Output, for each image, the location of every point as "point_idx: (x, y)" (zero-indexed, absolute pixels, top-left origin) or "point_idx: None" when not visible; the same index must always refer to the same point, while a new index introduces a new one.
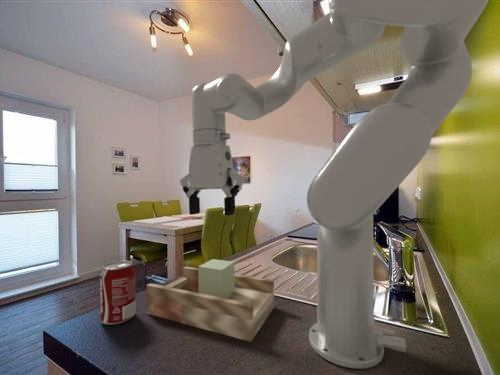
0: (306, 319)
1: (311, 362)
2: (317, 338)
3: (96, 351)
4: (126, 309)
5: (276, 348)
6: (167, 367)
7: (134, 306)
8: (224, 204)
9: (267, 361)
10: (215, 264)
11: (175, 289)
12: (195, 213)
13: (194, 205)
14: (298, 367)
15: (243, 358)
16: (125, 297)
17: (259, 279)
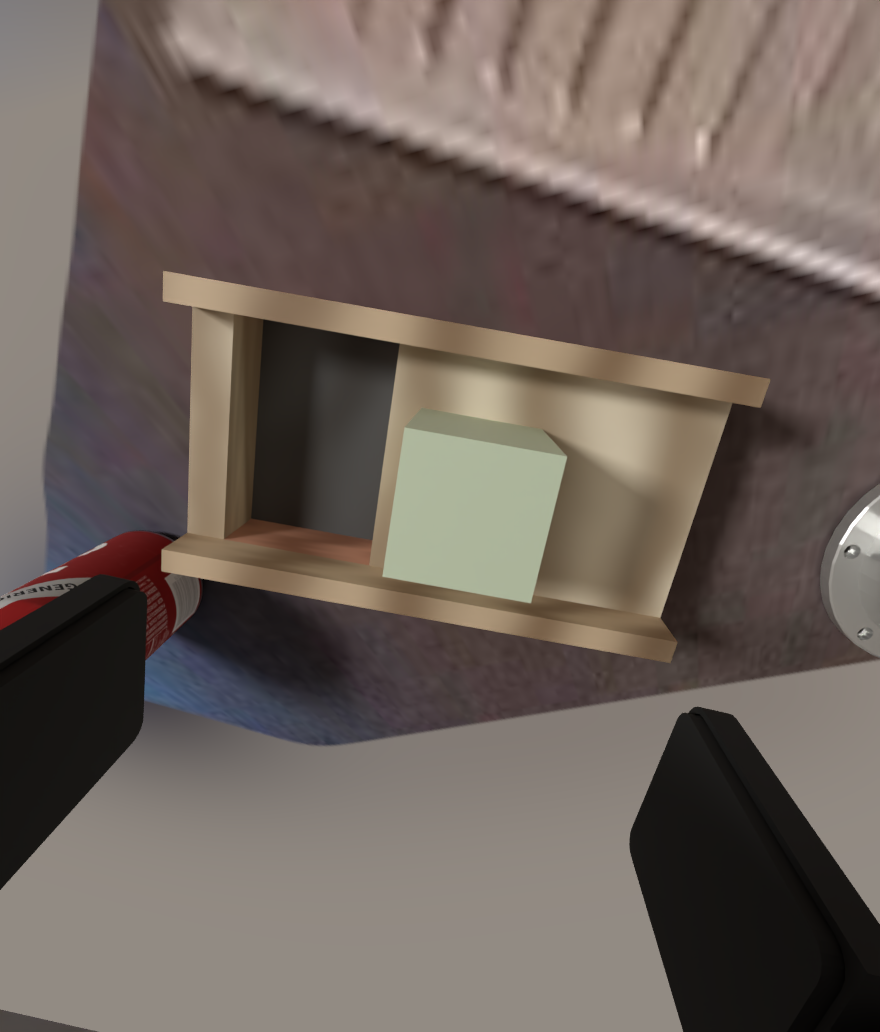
0: (835, 441)
1: (805, 648)
2: (854, 588)
3: (239, 707)
4: (182, 616)
5: (710, 615)
6: (446, 720)
7: (182, 578)
8: (673, 991)
9: (686, 664)
10: (464, 526)
11: (314, 585)
12: (143, 676)
13: (54, 771)
14: (766, 669)
15: (621, 665)
16: (156, 642)
17: (685, 388)
